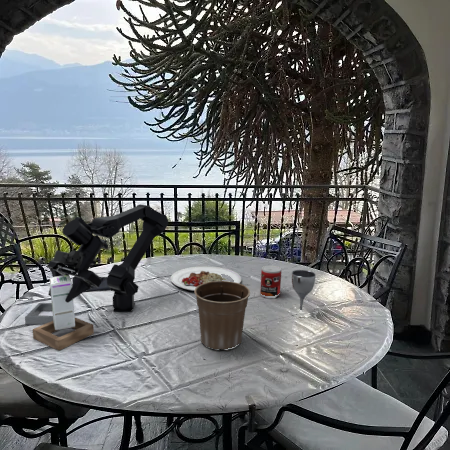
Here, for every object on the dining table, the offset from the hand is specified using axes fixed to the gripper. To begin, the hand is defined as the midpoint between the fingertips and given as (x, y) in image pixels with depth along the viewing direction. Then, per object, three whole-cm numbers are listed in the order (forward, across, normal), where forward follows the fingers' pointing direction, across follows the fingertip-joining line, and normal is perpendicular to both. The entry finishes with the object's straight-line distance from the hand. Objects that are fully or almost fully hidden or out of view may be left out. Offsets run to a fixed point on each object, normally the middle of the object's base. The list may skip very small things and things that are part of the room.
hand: (57, 298), depth 113 cm
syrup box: (+5, 0, +7) cm, 9 cm away
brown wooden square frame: (+8, 0, +10) cm, 12 cm away
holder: (+4, -15, +13) cm, 20 cm away
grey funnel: (-31, +53, +50) cm, 80 cm away
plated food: (-36, +8, +56) cm, 67 cm away
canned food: (-38, +37, +57) cm, 78 cm away
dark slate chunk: (-16, -24, +35) cm, 45 cm away
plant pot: (-9, +40, +27) cm, 49 cm away
